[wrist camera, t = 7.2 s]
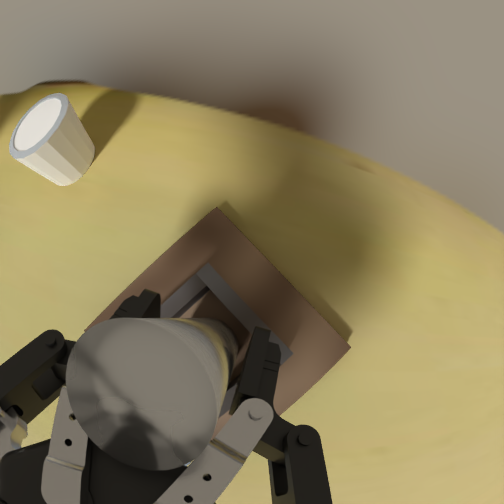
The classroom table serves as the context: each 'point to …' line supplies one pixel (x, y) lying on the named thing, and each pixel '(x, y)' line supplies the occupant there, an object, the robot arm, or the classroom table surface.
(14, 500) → the robot arm
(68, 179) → the white cup
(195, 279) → the square socket base
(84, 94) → the classroom table surface
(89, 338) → the peg
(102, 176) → the classroom table surface
